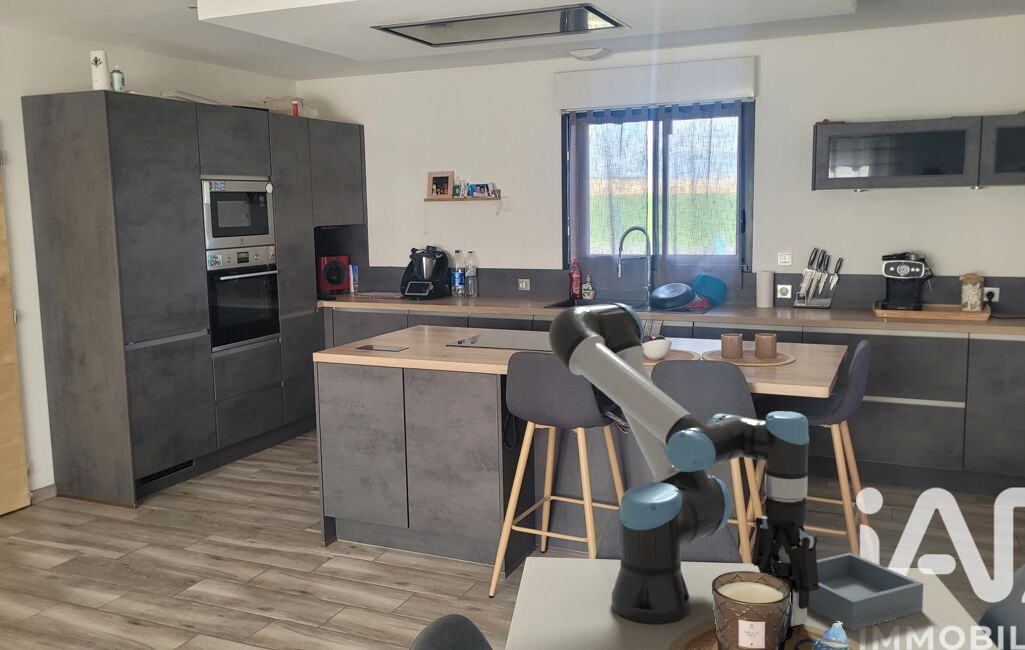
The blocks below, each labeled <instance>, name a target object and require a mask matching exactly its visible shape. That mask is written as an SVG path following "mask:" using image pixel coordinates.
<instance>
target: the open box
mask: <svg viewBox="0 0 1025 650" xmlns="http://www.w3.org/2000/svg"><path fill="white" fill-rule="evenodd" d="M817 570H818V582H819V589H818V590H815V591H811V592H809V607H808V608H807V609H810V610H811V611H814V612H816V613H817V614H819V615H821V616H823V617H825V618H828V620H831V621H832V622H834V623H836V622H835V621H840V622H842V623H843V626H842V627H843V628H845V629H848V630H850V631H852V632H854V631H857V630H861V628H862V629H864V627H865V628H869V627H872V626H874V625H873V624H875V623H879V622H883V621H886V620H890V619H894V618H897V619H899V618H898V617H901V618H903V617H902V616H904V617H907V616H906V615H908V616H911V614H912V615H915V614H919V613H922V612H923V604H924V603H923V602H924V601H923V600H924V599H923V598H924V583H922V582H921V581H920V582H919V581H918V580H915V579H913V578H911V577H909V576H906V575H903V574H901V573H899V572H896V571H894V570H893V569H890V568H887V567H885V566H882V565H880V564H877V563H875V562H873V561H870V560H868V559H866V558H864V557H861V556H859V555H856V554H854V553H852V552H847V553H841V554H838V555H833V556H829V557H823V558H820V559H817ZM894 620H895V619H894ZM890 621H891V620H890ZM883 623H884V622H883ZM879 624H880V623H879ZM871 625H872V626H871ZM868 626H869V627H868Z"/></svg>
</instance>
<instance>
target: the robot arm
mask: <svg viewBox="0 0 1025 650" xmlns="http://www.w3.org/2000/svg"><path fill="white" fill-rule="evenodd" d="M644 330H645V329H644V325H643V322H642V320H641V317H640V316H639V314H638V313H637V312H636V311H635V310H634V309H633V308H632V307H631V306H629V305H626V304H624V303H621V302H620V303H619V302H618V303H617V302H609V301H608V302H603V303H598V304H591V305H575V306H570V307H567V308H565V309H564V310H562V311H560V312H559V313H558V314H557V315H556V316H555V317H554V319H553V320H552V322H551V325H550V328H549V333H548V341H549V345H550V348H551V352H552V353H553V355H554V357H556V359H557V360H558V361H559V362H560V364H561V365H562V366H564V368H566V369H567V370H568V371H569V372H571V373H572V374H573V375H575V376H581V375H582V377H584V378H585V379H587V380H588V381H589V382H590V383H591V384H592V385H594V386H595V388H597V389H598V390H600V391H601V392H602V393H603V394H604V395H606V396H607V398H609V399H610V400H612V402H614V403H615V404H616V405H617V406H619V407H620V409H621V411H622V414H623V416H624V417H625V419H626V421H627V424H628V425H629V427H630V429H631V432H632V433H633V437H635V440H636V442H637V444H638V446H639V448H640V451H641V453H642V454H643V456H644V458H645V461H646V462H647V464H648V466H649V470H650V472H651V473H652V476H653V480H652V482H649V483H640V484H637V485H636V484H635V485H634V486H631V487H630V488H629V489H627V490H626V491H625V492H623V494H622V497H621V499H620V507H619V508H620V509H619V513H618V514H619V531H620V534H619V537H620V538H619V540H620V542H619V543H620V546H619V547H620V549H619V550H620V553H619V554H620V556H619V557H620V567H619V570H618V574H617V577H616V580H615V583H614V587H613V589H612V591H611V608H612V609H613V612H615V613H616V614H618V615H619V616H620V617H623V618H625V619H627V620H630V621H633V622H638V623H644V624H665V623H666V624H668V623H672V622H675V621H679V620H681V619H684V618H685V617H686V616H687V615H689V612H690V610H691V599H690V598H691V597H690V594H689V590H688V588H687V584H686V582H685V577H684V575H683V572H682V547H684V546H687V545H690V544H691V543H694V542H696V541H698V540H700V539H703V538H709V537H711V536H712V535H714V534H715V533H717V532H718V531H720V530H721V529H723V528H724V527H725V526H726V525H727V523H728V521H729V519H730V516H731V513H732V507H733V506H732V498H731V495H730V494H731V493H730V491H729V489H728V488H727V487H728V486H726V484H725V483H724V482H723V481H722V480H721V479H720V478H716V476H715V475H711V474H708V472H707V470H706V469H709V468H710V467H713V466H715V465H719V464H721V463H726V462H728V461H731V460H734V459H738V458H747V459H752V460H756V461H757V460H758V461H763V462H764V467H765V469H764V493H765V494H766V495H765V496H764V511H763V512H764V516H758V517H755V528H756V530H755V537H754V545H753V555H752V562H751V563H752V565H753V567H757V569H758V572H760V574H761V573H764V574H767V572H768V571H769V570H770V569H772V568H771V560H772V556H774V555H778V554H779V553H780V550H781V547H784V552H785V554H786V555H788V556H789V560H790V564H791V568H792V572H793V576H794V580H795V584H796V588H797V589H794V590H793V625H795V626H796V625H798V626H799V625H803V624H806V623H807V622H808V620H807V619H808V617H807V616H808V609H809V608H808V607H809V592H811V591H815V590H818V589H819V582H818V570H817V560H818V559H817V543H818V538H817V536H816V535H809V534H808V533H807V532H806V530H805V526H804V522H805V520H806V518H807V517H808V499H807V498H806V497H807V495H808V476H809V475H808V472H809V471H808V464H809V463H808V461H809V443H810V437H809V421H808V418H807V417H806V416H805V415H804V414H802V413H799V412H795V411H784V410H781V411H780V410H778V411H771V412H769V413H768V414H766V417H765V420H763V419H758V418H752V417H746V416H743V415H742V416H741V415H737V414H734V413H728V414H727V413H716V414H714V415H713V416H712V417H711V419H709V420H708V422H707V423H706V424H705V423H703V422H702V421H700V420H699V419H698V418H697V417H695V416H694V415H692V414H691V413H690V412H689V411H688V410H686V409H685V408H684V407H682V406H681V405H680V404H679V403H677V402H676V401H675V400H674V399H672V398H671V397H670V396H669V395H668V394H666V393H665V392H664V391H662V389H660V388H659V387H658V386H656V385H655V384H654V382H653V380H652V378H651V376H650V374H649V372H648V369H647V368H646V365H645V363H644V362H643V360H642V357H643V354H644V351H645V350H644V349H645V348H644V346H643V344H642V343H643V339H644V335H643V333H644V332H645V331H644ZM802 583H804V584H802ZM796 627H797V626H796Z"/></svg>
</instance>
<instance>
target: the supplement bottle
mask: <svg viewBox="0 0 1025 650" xmlns="http://www.w3.org/2000/svg"><path fill="white" fill-rule="evenodd" d="M771 568H772V569H770V570H769V571H768V572H767V574H768V575H771V576H773V577H776V578H778V579H780V580H782V581H783V582H784V583H786V584H787V585H788V587H789V589H790V592H791V603H792V605H793V590H794V589H797V588H796V584H795V580H794V576H793V572H792V568H791V564H790V560H789V556H788V554H784V553H781V554H779V553H778V555H774V556H772V560H771ZM802 584H804V583H802ZM794 626H795V625H794Z"/></svg>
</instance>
